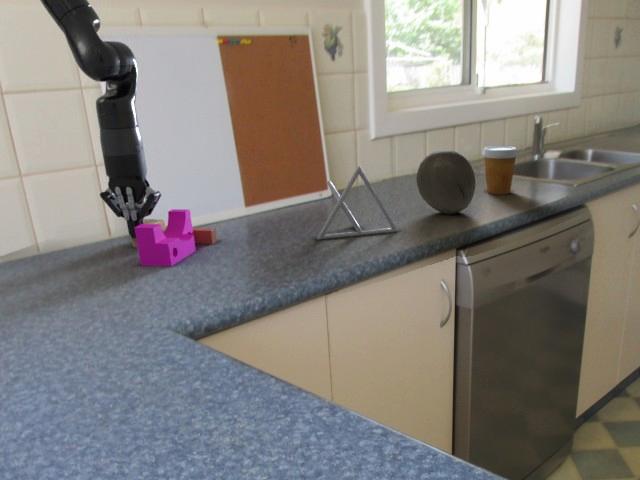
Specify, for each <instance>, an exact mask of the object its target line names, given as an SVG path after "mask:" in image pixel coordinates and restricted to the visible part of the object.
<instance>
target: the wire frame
mask: <svg viewBox="0 0 640 480" xmlns="http://www.w3.org/2000/svg"><path fill="white" fill-rule="evenodd" d="M358 177H360V179H361V180H362V181H363V183H364V185H365V186H366V189H367V190H368V191H369V193H370V195H371V196H372V198H373V200H374V201H375V203H376V205H377V206H378V208H379V209H380V211H381V213H382V214H383V216H384V218H385V220H386V221H387V223H388V225H389V226H390V228H389V227H388V228H379V229H370V230H362V229H361V226H360V225H359V223H358V222H357V220H356V218H355V217H354V215H353V214H352V212H351V210H350V209H349V207H348V205H347V204H346V202H345V199H346V198H347V196H348V194H349V193H350V191H351V189H352V187H353V186H354V183H356V181H357V178H358ZM326 184H327V186H328V188H329V190H330V192H331V193H332V195H333V196H334V198H335V200H336V201H337V202H336V203H335V205H334V207H333V209H332V211H331V213H330V214H329V216H328V218H327V219H326V221H325V223H324V225H323V226H322V229H320V232H319V234H318V235H317V237H316V239H317V240H328V239H338V238H348V237H359V236H367V235H368V236H369V235H377V234H388V233H396V232H397V233H398V232H399V229H398V227H397V226H396V224H395V223H394V221H393V219H392V217H391V215H390V214H389V212H388V211H387V209H386V207H385V205H384V204H383V202H382V201H381V199H380V198H379V195H378V194H377V192H376V191H375V189H374V187H373V186H372V184H371V182H370V180H369V179H368V177H367V175H366V174H365V172H364V170H363V169H362V167H361V166H360V165H358V166H357V167H356V169H355V170H354V172H353V174H352V176H351V178H350V179H349V181H348V183H347V185H346V187H344V189H343V192H342V194H341V195H340V193H339V192H338V190H337V188H336V187H335V185H334V184H333V183H332V181H331V180H328V181H327V182H326ZM340 208H341V209H342V211H343V212H344V214H345V216H346V217H347V219H348V220H349V222H350V223H351V225H352V226H353V228H354V230H355V231H348V232H339V233H328V234H326V232H327V231H328V229H329V227H330V226H331V224H332V222H333V220H334V218H335V217H336V215H337V214H338V211H339V210H340Z"/></svg>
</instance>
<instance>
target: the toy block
mask: <svg viewBox="0 0 640 480" xmlns="http://www.w3.org/2000/svg"><path fill="white" fill-rule="evenodd" d="M166 226H167V229H166V232H165V234H164V233H163V231H162V229H161V225H160V224H141V225H139V226H137V227H135V234H136V240H137V246H138V247H137V252H138V257H139V263H140V266H154V267H173V266H174V265H176V264H177V263H179V262H180V261H182V260H184V259H185V258H187V257H188V256H190V255H192V254H193V253H194V252H196V251H197V249H196V243H195V241H194V234H193V229H192V228H193V222H192V216H191V209H182V208H181V209H180V208H179V209H178V208H176V209H175V208H172V209H170V210H167V225H166Z"/></svg>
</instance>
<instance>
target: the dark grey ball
mask: <svg viewBox="0 0 640 480" xmlns="http://www.w3.org/2000/svg"><path fill="white" fill-rule="evenodd" d="M415 179H416V186H417V190H418V193H419V195H420V197H421V198H422V199H423V201H424V202H425V203H426V204H427V205H428V206H429V207H430V208H432V209H433V210H435V211H437V212H439V213H442V214H445V215H456V214H458V213H460V212H462V211H464V210H465V209H466V208H468V207H469V205H470V204H471V203H472V200H473V198H474V194H475V190H476V175H475V171H474V169H473V166H472V164H471V163H470V161H469V160H468V159H467V158H466V157H465V156H464V155H463V154H462V153H460V152H458V151H454V150H438V151H432V152H431V153H429V154H428V155H427V156H426V157H425V158H423V160H422V161H421V162H420V163H419V166H418V169H417V172H416V178H415Z"/></svg>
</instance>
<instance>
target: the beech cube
mask: <svg viewBox="0 0 640 480" xmlns="http://www.w3.org/2000/svg"><path fill="white" fill-rule="evenodd" d="M143 222H144V224H160V225H161V229H162V231H163V233H164V234H165V232H166V227H165V226H166V221H165V219H157V218H156V219H154V218H152V219H151V218H150V219H149V218H143ZM131 243H132V247H133V248H138V246H137V240H136V238H131Z"/></svg>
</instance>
